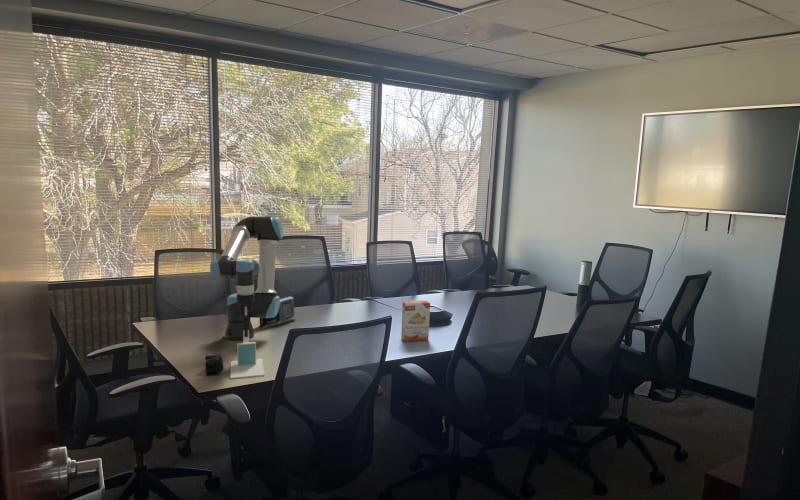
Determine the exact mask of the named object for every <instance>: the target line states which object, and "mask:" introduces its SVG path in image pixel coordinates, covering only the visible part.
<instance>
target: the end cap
mask: <svg viewBox="0 0 800 500" xmlns="http://www.w3.org/2000/svg"><path fill="white" fill-rule="evenodd" d="M204 360H205V362H204V363H205V366H204V367H205V376H206V377H212V376H217V375H219V374H220V373H222V371H223V370H224V363H223V362H224V360H223V357H222V355H221V354H219V353H218V352H215V353H214V354H213V355H205V356H204Z"/></svg>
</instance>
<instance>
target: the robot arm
mask: <svg viewBox="0 0 800 500" xmlns="http://www.w3.org/2000/svg"><path fill="white" fill-rule="evenodd" d="M230 232H231V233H230V234H231V236H230V238H229V240H228V242H227V243H226V245H225V248H224V250H223V251H222V253H221V256H220V257H219V259H213V260H212V261H211V262H210V265H209V270H210V273H211V275H212V276H213V277H214V276H217V277H236V286H235V287H234V288H235V290H236V293H231V294H230V295H228V296H227V299H226V305H227V306H226V308H227V311H226V312H227V324H226V327H225V330H224V334H223V335H224V339H225V340H228V341H242V343H247V342H250V339H251V338H253V337H254V336H255V330H254V326H253V323H252V322H251V319H253V318H254V319H255V318H257V319H258V318H259V319H260V318H274V317H275V316H276V315H277V313H278V310H279V305H280V299H281V298H280V296H279V295H278V293H277V290H275V278H276V276H275V275H276V260H277V259H276V258H277V257H276V255H277V253H276V252H277V245H278V244H279V243H280V240H281V239H283V237H284V229H283V224H282V221H281V218H280V217H277V216H256V215H255V216H254V215H253V216H251V215H250V216H247V217H245V218H242V219H240V220H239V221H238V222H237V223H236V224H235V225H234V226H233V227H232V230H231V231H230ZM249 239H256V242H257V243H258V244H259V254H258V256H259V257H258V260H257V259H253V258H252V259H250V258H249V259H248V258H247V259H246V258H245V259H244V258H241V259H238V258H239V256H240V253H241V252H242V250H243V247H244V245H245V243H246V242H247V241H248V240H249ZM255 276H257V289H256V290H255V279H254V277H255Z"/></svg>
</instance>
